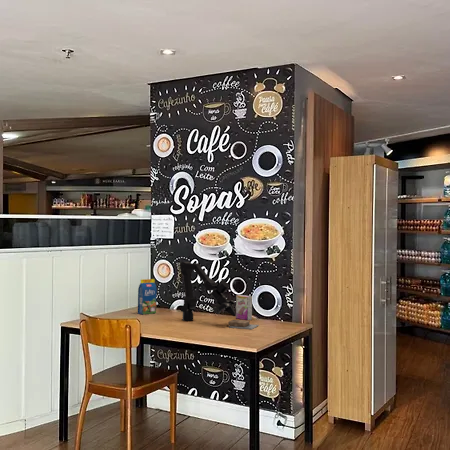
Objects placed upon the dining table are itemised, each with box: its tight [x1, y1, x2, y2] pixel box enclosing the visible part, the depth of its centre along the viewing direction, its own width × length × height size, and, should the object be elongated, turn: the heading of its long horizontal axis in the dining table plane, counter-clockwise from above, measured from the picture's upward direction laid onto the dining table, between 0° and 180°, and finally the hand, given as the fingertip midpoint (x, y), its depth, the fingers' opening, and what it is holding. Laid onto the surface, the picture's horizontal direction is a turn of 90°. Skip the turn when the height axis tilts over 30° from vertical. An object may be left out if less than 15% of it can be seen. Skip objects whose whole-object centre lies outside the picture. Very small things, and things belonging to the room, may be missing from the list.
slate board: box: [228, 323, 260, 330], centre depth 365 cm, size 15×16×1 cm
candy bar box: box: [235, 294, 253, 321], centre depth 398 cm, size 11×5×16 cm, turn 47°
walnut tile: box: [227, 319, 251, 327], centre depth 366 cm, size 3×10×11 cm
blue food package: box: [137, 278, 158, 315], centre depth 416 cm, size 6×12×25 cm, turn 130°
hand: (235, 315), depth 367 cm, fingers closed
